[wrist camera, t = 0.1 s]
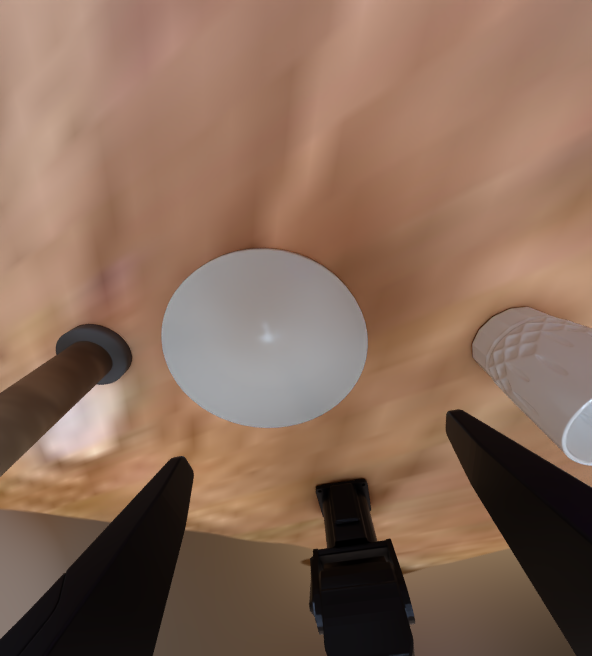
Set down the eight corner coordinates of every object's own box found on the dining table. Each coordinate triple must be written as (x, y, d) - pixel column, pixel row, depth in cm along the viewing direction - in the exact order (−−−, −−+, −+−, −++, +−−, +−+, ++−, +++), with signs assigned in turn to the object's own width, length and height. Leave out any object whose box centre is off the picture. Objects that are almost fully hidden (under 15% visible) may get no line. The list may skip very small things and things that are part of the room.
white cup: (447, 361, 25) (534, 451, 16) (501, 287, 22) (646, 349, 13) (513, 382, 27) (626, 476, 18) (573, 315, 23) (749, 389, 14)
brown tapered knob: (142, 370, 25) (14, 521, 13) (88, 381, 25) (-82, 536, 14) (112, 318, 23) (-78, 447, 11) (53, 331, 23) (-191, 468, 11)
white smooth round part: (372, 404, 27) (375, 411, 27) (208, 432, 29) (205, 440, 28) (353, 224, 20) (356, 225, 19) (128, 274, 21) (121, 278, 20)
